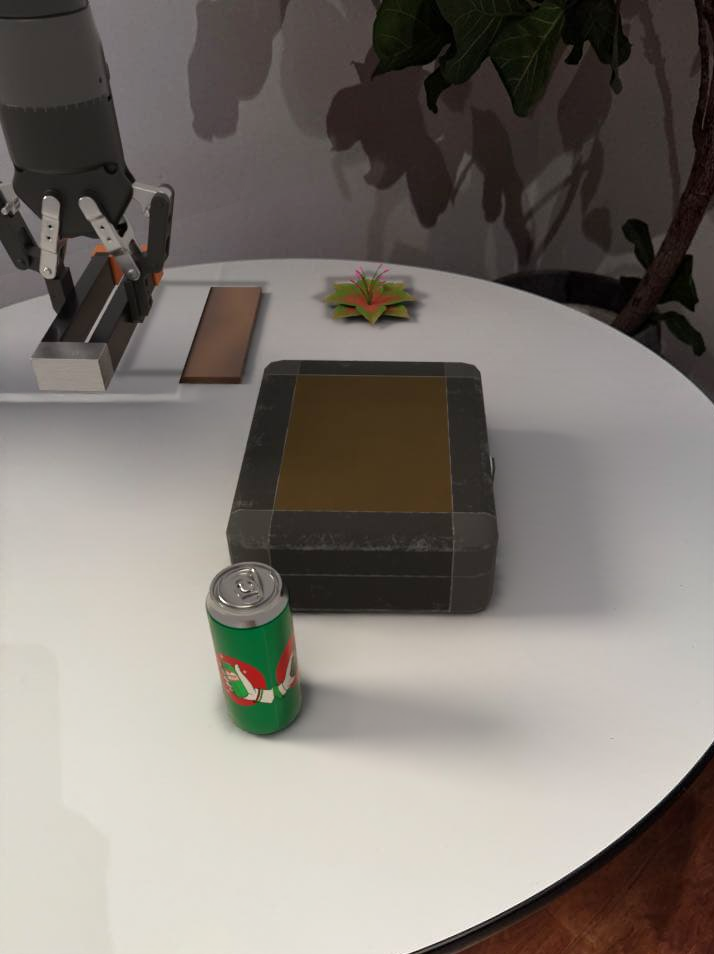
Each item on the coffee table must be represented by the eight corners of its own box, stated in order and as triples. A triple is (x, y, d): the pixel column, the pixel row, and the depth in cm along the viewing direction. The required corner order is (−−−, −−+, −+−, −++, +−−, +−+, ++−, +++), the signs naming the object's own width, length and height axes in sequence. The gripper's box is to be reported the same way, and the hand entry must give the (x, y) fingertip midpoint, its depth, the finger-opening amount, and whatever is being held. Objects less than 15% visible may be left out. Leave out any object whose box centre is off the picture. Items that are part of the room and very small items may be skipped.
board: (124, 383, 90) (122, 376, 89) (162, 292, 105) (160, 286, 104) (240, 383, 90) (239, 376, 89) (262, 293, 105) (261, 286, 104)
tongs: (104, 272, 76) (97, 243, 74) (163, 273, 76) (158, 245, 74) (36, 390, 62) (26, 358, 61) (109, 391, 62) (101, 359, 61)
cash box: (500, 618, 66) (509, 544, 61) (233, 614, 66) (220, 540, 61) (481, 427, 85) (487, 357, 80) (272, 424, 85) (265, 354, 79)
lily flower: (319, 283, 107) (317, 247, 104) (416, 281, 107) (417, 245, 104) (318, 332, 98) (315, 294, 95) (424, 329, 99) (425, 292, 96)
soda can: (285, 669, 62) (269, 547, 54) (314, 720, 59) (301, 599, 51) (218, 695, 61) (191, 573, 53) (243, 750, 57) (219, 629, 49)
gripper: (-82, 99, 55) (-1, 340, 66) (146, 104, 55) (187, 343, 67) (-36, 66, 60) (31, 294, 72) (170, 70, 61) (205, 297, 72)
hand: (106, 316), depth 69 cm, fingers closed on tongs, 4 cm apart
